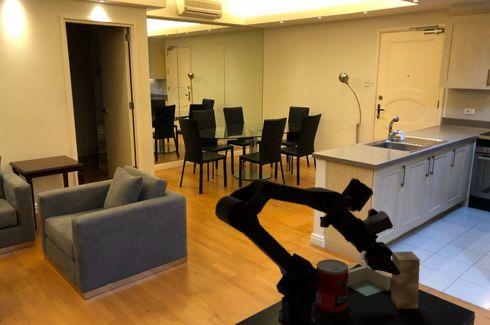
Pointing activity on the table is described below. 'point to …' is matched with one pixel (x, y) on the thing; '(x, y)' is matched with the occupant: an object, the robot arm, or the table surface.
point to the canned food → (332, 285)
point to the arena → (368, 280)
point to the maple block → (405, 280)
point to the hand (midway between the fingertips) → (392, 265)
